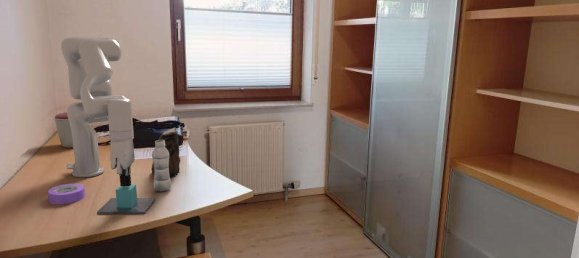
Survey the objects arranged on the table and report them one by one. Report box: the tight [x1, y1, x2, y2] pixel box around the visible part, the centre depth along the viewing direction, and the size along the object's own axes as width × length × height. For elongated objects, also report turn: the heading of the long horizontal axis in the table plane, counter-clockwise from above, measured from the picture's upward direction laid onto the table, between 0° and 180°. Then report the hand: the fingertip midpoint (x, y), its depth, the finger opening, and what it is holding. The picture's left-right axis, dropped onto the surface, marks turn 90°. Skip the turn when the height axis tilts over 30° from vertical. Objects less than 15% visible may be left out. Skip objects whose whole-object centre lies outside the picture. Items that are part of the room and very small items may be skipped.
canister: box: [52, 111, 91, 149], centre depth 217 cm, size 18×18×21 cm
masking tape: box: [47, 183, 86, 205], centre depth 148 cm, size 12×12×4 cm
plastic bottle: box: [151, 139, 172, 192], centre depth 155 cm, size 6×7×20 cm
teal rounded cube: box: [115, 183, 138, 208], centre depth 141 cm, size 5×5×7 cm
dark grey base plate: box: [96, 197, 156, 215], centre depth 141 cm, size 16×12×6 cm
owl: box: [151, 127, 181, 179], centre depth 174 cm, size 13×13×20 cm
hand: (125, 185), depth 140 cm, fingers closed
